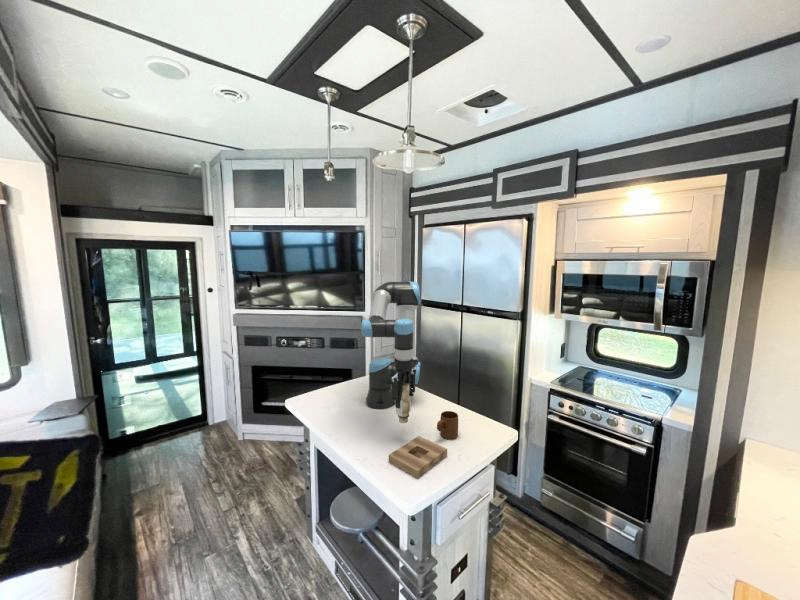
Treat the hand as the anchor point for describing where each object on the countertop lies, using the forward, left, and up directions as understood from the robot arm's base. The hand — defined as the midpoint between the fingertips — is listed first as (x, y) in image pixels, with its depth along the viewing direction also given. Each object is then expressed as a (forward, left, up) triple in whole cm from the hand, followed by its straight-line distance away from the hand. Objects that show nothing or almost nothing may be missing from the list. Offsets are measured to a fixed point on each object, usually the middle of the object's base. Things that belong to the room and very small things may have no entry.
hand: (403, 412), depth 135 cm
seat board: (+5, +12, -13) cm, 19 cm away
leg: (0, 0, -4) cm, 4 cm away
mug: (-15, +11, -13) cm, 23 cm away
